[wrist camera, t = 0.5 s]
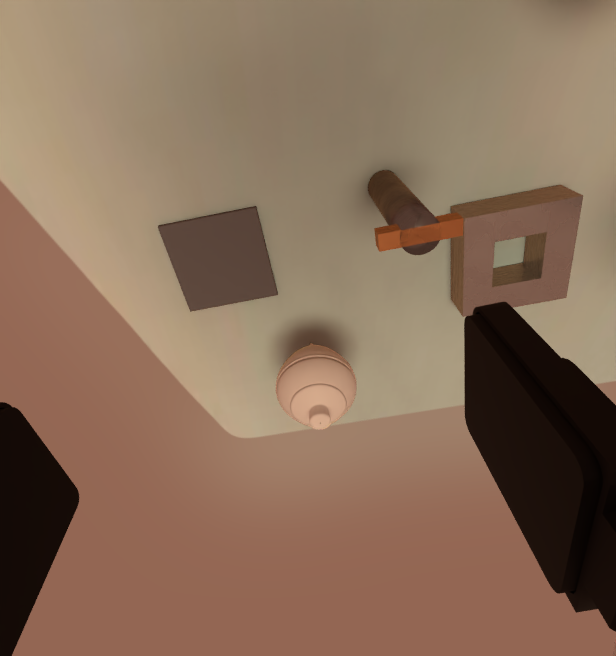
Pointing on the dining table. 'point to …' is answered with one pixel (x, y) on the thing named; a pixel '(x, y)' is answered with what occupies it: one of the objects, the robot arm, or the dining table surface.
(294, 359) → the spinning top
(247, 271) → the mat
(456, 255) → the socket block
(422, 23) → the dining table surface
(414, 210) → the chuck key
